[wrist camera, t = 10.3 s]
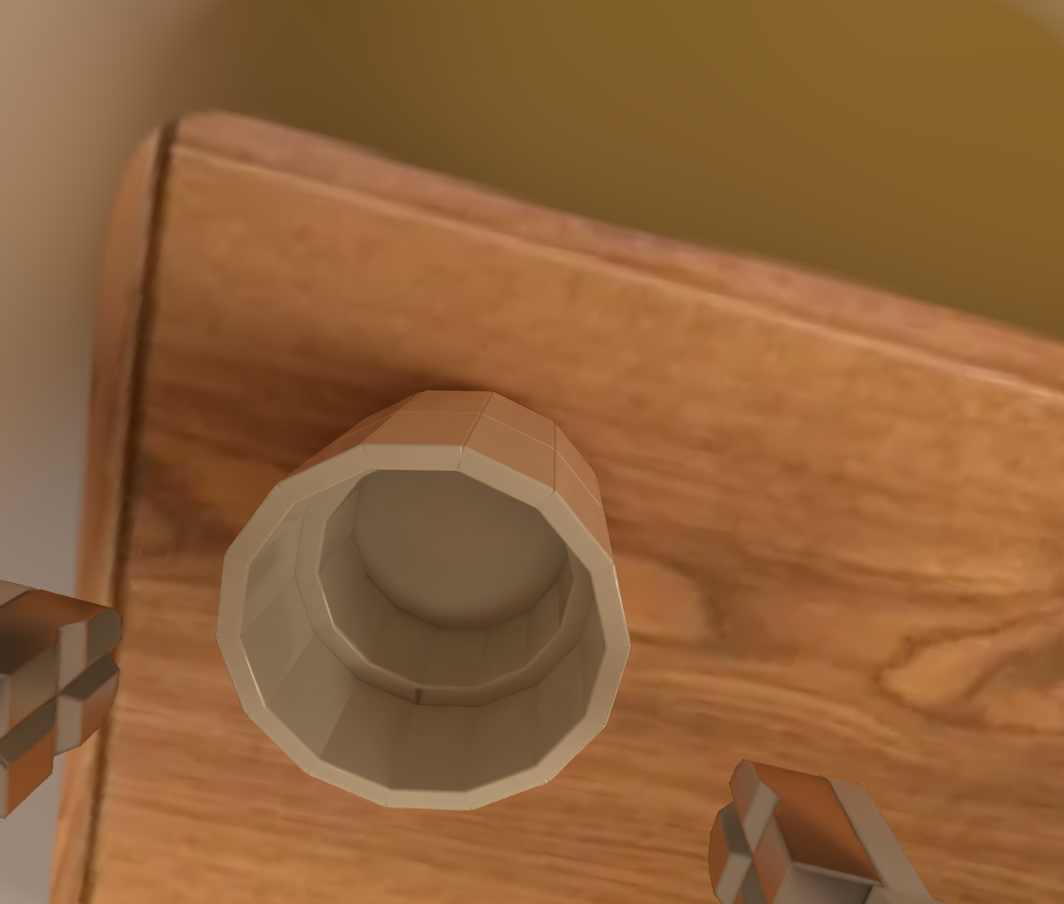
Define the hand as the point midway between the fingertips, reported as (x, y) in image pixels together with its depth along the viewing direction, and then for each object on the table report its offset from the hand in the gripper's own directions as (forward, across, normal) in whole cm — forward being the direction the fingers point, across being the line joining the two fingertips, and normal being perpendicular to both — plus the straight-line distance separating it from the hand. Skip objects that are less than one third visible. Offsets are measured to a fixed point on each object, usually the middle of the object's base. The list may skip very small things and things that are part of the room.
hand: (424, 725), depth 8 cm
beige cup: (+7, 0, 0) cm, 7 cm away
